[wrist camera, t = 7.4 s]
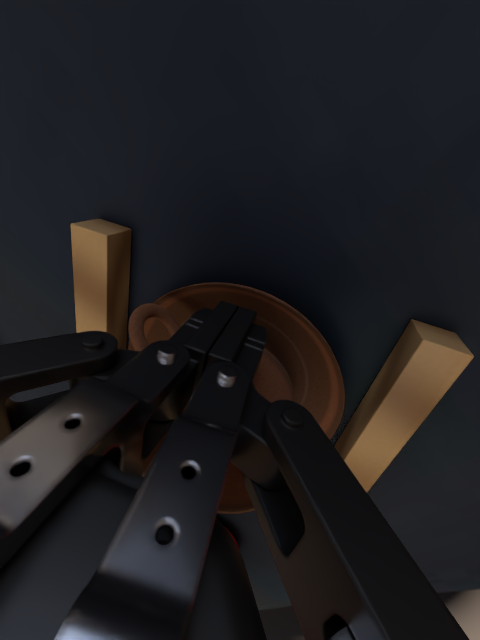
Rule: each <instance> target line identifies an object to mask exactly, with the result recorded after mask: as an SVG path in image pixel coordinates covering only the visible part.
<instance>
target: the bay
mask: <svg viewBox="0 0 480 640" xmlns="http://www.w3.org/2000/svg"><path fill="white" fill-rule="evenodd" d="M131 235H132V229H130V228H127V227H124V226H121V225H118V224H115V223H112V222H108V221H105V220H102V219H94V220H88V221H83V222H77V223H72V224H71V240H72V258H73V276H74V294H75V312H76V330H77V333H79V332H85V331H103V332H107V333H110V334H111V335H113V336H114V337H115V338H116V339H117V341H118V349H125V350H126V343H127V321H128V300H129V278H130V257H131ZM473 358H474V355H473V354H472V353H471V352H470V351H469V349H468V348H467V347H466V346H465V344H464V343H463V342H462V341H461V339H460V338H459V337H458V336H457V334H456V333H454V332H450V331H447V330H444V329H441V328H438V327H435V326H432V325H429V324H426V323H423V322H419V321H416V320H413V319H411V321H410V322H409V324H408V326H407V327H406V329H405V330H404V332H403V334H402V335H401V337H400V339H399V340H398V342H397V344H396V345H395V347H394V349H393V350H392V352H391V354H390V355H389V357H388V358H387V360H386V362H385V363H384V365H383V367H382V368H381V370H380V372H379V373H378V375H377V377H376V378H375V380H374V382H373V383H372V385H371V386H370V388H369V390H368V391H367V393H366V395H365V396H364V398H363V400H362V401H361V403H360V405H359V406H358V408H357V410H356V411H355V413H354V414H353V416H352V418H351V419H350V421H349V423H348V424H347V426H346V428H345V429H344V431H343V433H342V434H341V436H340V438H339V439H338V441H337V442H336V444H335V446H334V447H335V448H336V450H337V451H338V453H339V454H340V455H341V457H342V458H343V460H344V461H345V463H346V464H347V465H348V467H349V468H350V470H351V471H352V473H353V474H354V475H355V477H356V478H357V480H358V481H359V483H360V484H361V485H362V487H363V488H364V490H365V491H366V493H367V492H368V491H369V489H370V488H371V487H372V485H373V484H374V483H375V482H376V480H377V479H378V478H379V477H380V475H381V474H382V473H383V472H384V470H385V469H386V468H387V466H388V465H389V464H390V463H391V461H392V460H393V459H394V458H395V456H396V455H397V454H398V453H399V451H400V450H401V449H402V447H403V446H404V445H405V444H406V442H407V441H408V440H409V439H410V437H411V436H412V435H413V434H414V432H415V431H416V430H417V428H418V427H419V426H420V425H421V423H422V422H423V421H424V420H425V418H426V417H427V416H428V415H429V413H430V412H431V411H432V410H433V408H434V407H435V406H436V404H437V403H438V402H439V401H440V399H441V398H442V397H443V396H444V394H445V393H446V392H447V391H448V389H449V388H450V387H451V385H452V384H453V383H454V382H455V380H456V379H457V378H458V377H459V375H460V374H461V373H462V372H463V370H464V369H465V368H466V366H467V365H468V364H469V363H470V361H471V360H472V359H473Z"/></svg>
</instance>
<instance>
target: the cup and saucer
mask: <svg viewBox="0 0 480 640" xmlns="http://www.w3.org/2000/svg"><path fill="white" fill-rule="evenodd" d="M222 300H223V301H226V302H229V303H232V304H235V305H238V306H239V307H240V306H241V307H244V308H247V309H250V310H253V311H256V312H257V317H256V320H255V324H257V325H260V326H263V327H266V330H267V333H268V338H267V341H266V345H265V348H264V351H263V354H262V357H261V360H260V363H259V366H258V369H257V372H256V374H255V377H254V380H253V384H254V386H255V388H256V390H257V391H258V392H259V394H261V395H262V396H263V397H264V398H265V399H267V400H268V401H270V402H271V403H272V402H274V401H277V400H290V401H294V402H296V403H298V404H300V405H302V406H303V407H305V408H306V409H307V410H308V411H309V412H310V413H311V414H312V415H313V417H314V418H315V420H316V421H317V423H318V424H319V425H320V427H321V428H322V430H323V431H324V433H325V434H326V435H327V437H328V438H329V440H330V439H331V438H332V436H333V435H334V433H335V432H336V430H337V428H338V426H339V424H340V421H341V419H342V415H343V411H344V404H345V389H344V382H343V377H342V374H341V370H340V367H339V365H338V362H337V360H336V357H335V355H334V354H333V352H332V350H331V348H330V346H329V345H328V343H327V342H326V340H325V339H324V337H323V336H322V334H321V333H320V332H319V331H318V330H317V328H316V327H315V326H314V325H313V324H312V323H311V322H310V321H309V320H308V319H307V318H306V317H305V316H303V315H302V314H301V313H300V312H298V311H297V310H296V309H294V308H293V307H292V306H290V305H289V304H287V303H286V302H284V301H282V300H280V299H278V298H276V297H275V296H272V295H270V294H268V293H266V292H263V291H261V290H258V289H254V288H251V287H248V286H243V285H239V284H232V283H221V282H211V283H200V284H194V285H189V286H186V287H182V288H179V289H176V290H174V291H171V292H169V293H167V294H165V295H164V296H162V297H160V298H159V299H157V300H156V301H155V302H153V303H152V304H151V303H148V304H143V305H140V306H139V307H137V308H136V309H135V310H134V311H133V313H132V314H131V317H130V320H129V326H128V330H129V337H130V340H129V346H128V350H133V351H142V350H143V349H144V348H146V347H147V346H148V345H150V344H151V343H153V342H156V341H161V340H169V339H170V338H171V337H172V336H173V335H174V334H175V333H176V332H177V331H178V329H179V328H180V327H181V326H182V325H183V324H185V322H186V321H187V320H188V319H190V317H191V316H192V315H193V314H194V313H195V312H196V311H198V310H200V309H203V308H209V309H212V310H214V309H215V307H216V306H217V305H218V304H219V303H220V301H222ZM186 406H187V405H186ZM186 406H185V408H186ZM185 408H184V410H185ZM184 410H183V411H182V413H181V415H182V414H183V412H184ZM156 454H157V453H156ZM156 454H155V455H156ZM154 457H155V456H154ZM154 457H153V458H152V460H151V461H150V463H149V464H148V465H147V467H146V469H145V470H144V472H143V474H142V475H143V476H144V477H145V475H146V473H147V471H148V469H149V467H150V465H151V463H152V461H153V459H154ZM254 510H255V509H254V507H253V504H252V501H251V499H250V496H249V494H248V491H247V489H246V486H245V483H244V479H243V472H242V471H240V470H239V469H238V468H237V467H236V466H235V465H233V464H232V463H231V462H230V465H229V469H228V472H227V476H226V480H225V484H224V488H223V492H222V496H221V500H220V504H219V508H218V512H217V513H225V514H238V513H246V512H250V511H254Z"/></svg>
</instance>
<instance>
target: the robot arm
mask: <svg viewBox="0 0 480 640" xmlns="http://www.w3.org/2000/svg"><path fill="white" fill-rule="evenodd" d="M256 317H257V312H256V311H253V310H250V309H247V308H244V307H241V306H240V307H239V306H238V305H235V304H232V303H229V302H226V301H223V300H222V301H220V303H219V304H218V305H217V306H216V307H215V309H214V310H212V309H209V308H203V309H200V310H198V311H196V312H195V313H194V314H193V315H192V316H191V317H190V319H188V320H187V321H186V322H185V324H183V325H182V326H181V327H180V328H179V329H178V331H177V332H176V333H175V334H174V335H173V336H172V337H171V338H170V339H169V340H161V341H156V342H153V343H151V344H150V345H148V346H147V347H146V348H144V349H143V350H142V351H133V350H125V349H118V341H117V339H116V338H115V337H114V336H113V335H111V334H110V333H107V332H103V331H85V332H79V333H73V334H66V335H60V336H54V337H48V338H42V339H36V340H29V341H23V342H17V343H11V344H5V345H0V640H267V639H266V635H265V632H264V629H263V625H262V622H261V618H260V615H259V611H258V608H257V605H256V601H255V598H254V594H253V591H252V587H251V584H250V580H249V577H248V574H247V570H246V567H245V564H244V561H243V559H242V557H241V554H240V552H239V550H238V547H237V546H236V544H235V542H234V540H233V538H232V537H231V535H230V534H229V532H228V531H227V530H226V528H225V527H224V526H223V525H222V523H221V522H220V521H219V520H218V519H217V518H216V515H217V512H218V508H219V504H220V500H221V496H222V492H223V488H224V484H225V480H226V476H227V472H228V469H229V465H230V462H231V463H232V464H233V465H235V466H236V467H237V468H238V469H239V470H240V471H242V472H243V479H244V483H245V486H246V489H247V491H248V494H249V496H250V499H251V501H252V504H253V507H254V509H255V512H256V514H257V517H258V519H259V522H260V524H261V527H262V530H263V532H264V535H265V537H266V540H267V542H268V545H269V547H270V550H271V553H272V555H273V558H274V560H275V563H276V565H277V568H278V571H279V573H280V576H281V578H282V581H283V583H284V586H285V588H286V591H287V594H288V596H289V599H290V601H291V604H292V606H293V609H294V611H295V614H296V617H297V619H298V622H299V624H300V627H301V629H302V632H303V634H304V637H305V640H469V639H468V637H467V636H466V634H465V633H464V631H463V630H462V628H461V627H460V626H459V624H458V623H457V621H456V620H455V618H454V617H453V616H452V614H451V613H450V611H449V610H448V608H447V607H446V606H445V604H444V603H443V601H442V600H441V598H440V597H439V596H438V594H437V593H436V591H435V590H434V588H433V587H432V586H431V584H430V583H429V581H428V580H427V578H426V577H425V576H424V574H423V573H422V571H421V570H420V568H419V567H418V566H417V564H416V563H415V561H414V560H413V558H412V557H411V556H410V554H409V553H408V551H407V550H406V548H405V547H404V546H403V544H402V543H401V541H400V540H399V538H398V537H397V536H396V534H395V533H394V531H393V530H392V528H391V527H390V526H389V524H388V523H387V521H386V520H385V518H384V517H383V516H382V514H381V513H380V511H379V510H378V508H377V507H376V505H375V504H374V503H373V501H372V500H371V498H370V497H369V495H368V494H367V493H366V491H365V490H364V488H363V487H362V485H361V484H360V483H359V481H358V480H357V478H356V477H355V475H354V474H353V473H352V471H351V470H350V468H349V467H348V465H347V464H346V463H345V461H344V460H343V458H342V457H341V455H340V454H339V453H338V451H337V450H336V448H335V447H334V445H333V444H332V443H331V441H330V440H329V438H328V437H327V435H326V434H325V433H324V431H323V430H322V428H321V427H320V425H319V424H318V423H317V421H316V420H315V418H314V417H313V415H312V414H311V413H310V412H309V411H308V410H307V409H306V408H305V407H303V406H302V405H300V404H298V403H296V402H294V401H290V400H277V401H274V402H272V403H271V402H270V401H268V400H267V399H265V398H264V397H263V396H262V395H261V394H259V392H258V391H257V390H256V388H255V386H254V384H253V380H254V377H255V374H256V372H257V369H258V366H259V363H260V360H261V357H262V354H263V351H264V348H265V345H266V341H267V338H268V333H267V330H266V327H263V326H260V325H257V324H255V320H256ZM66 380H69V386H70V390H67V391H63V392H59V393H55V394H51V395H48V396H44V397H40V398H36V399H32V400H28V401H24V402H14V401H11V400H10V399H9V397H10V396H11V395H13V394H15V393H18V392H21V391H25V390H30V389H34V388H38V387H42V386H46V385H50V384H54V383H58V382H62V381H66ZM186 405H187V406H186ZM185 406H186V408H185ZM184 408H185V410H184ZM183 410H184V412H183V414H182V415H181V413H182V411H183ZM156 453H157V454H156ZM155 454H156V455H155ZM154 456H155V457H154ZM153 457H154V459H153V461H152V463H151V465H150V467H149V469H148V471H147V473H146V475H145V477H142V474H143V472H144V470H145V469H146V467H147V465H148V464H149V463H150V461H151V460H152V458H153Z"/></svg>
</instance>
